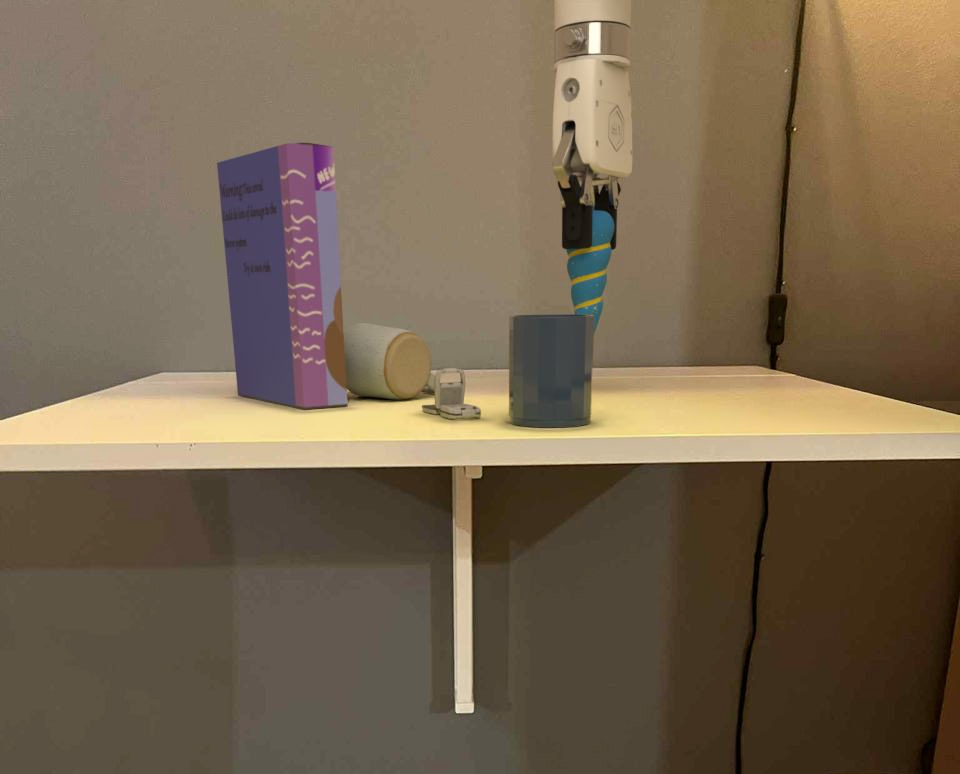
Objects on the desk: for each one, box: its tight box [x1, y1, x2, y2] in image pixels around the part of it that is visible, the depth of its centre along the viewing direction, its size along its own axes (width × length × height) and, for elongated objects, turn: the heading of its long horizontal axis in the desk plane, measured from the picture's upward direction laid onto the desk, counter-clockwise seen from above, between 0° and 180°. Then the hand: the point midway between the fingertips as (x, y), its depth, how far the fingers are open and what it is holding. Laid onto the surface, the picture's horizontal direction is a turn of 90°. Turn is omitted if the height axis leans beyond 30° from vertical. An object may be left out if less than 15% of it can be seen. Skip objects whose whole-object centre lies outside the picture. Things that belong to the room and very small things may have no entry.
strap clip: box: [421, 367, 482, 420], centre depth 92 cm, size 8×3×4 cm, turn 25°
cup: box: [508, 313, 595, 429], centre depth 86 cm, size 7×7×9 cm
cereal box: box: [216, 142, 348, 411], centre depth 101 cm, size 17×5×24 cm, turn 35°
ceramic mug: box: [343, 322, 436, 401], centre depth 107 cm, size 11×8×8 cm
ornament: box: [565, 194, 614, 334], centre depth 104 cm, size 5×5×15 cm
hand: (589, 247), depth 104 cm, fingers closed on ornament, 5 cm apart
